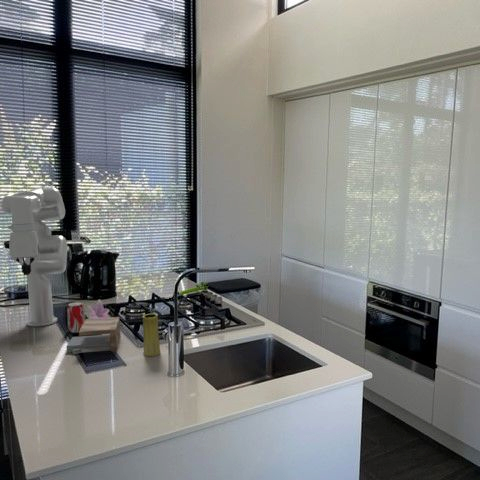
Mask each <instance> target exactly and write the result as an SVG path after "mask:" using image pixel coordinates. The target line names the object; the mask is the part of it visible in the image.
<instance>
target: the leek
mask: <svg viewBox="0 0 480 480" xmlns="http://www.w3.org/2000/svg"><path fill="white" fill-rule="evenodd" d="M207 284H208V281H204V282H203V281H200V284H198V283H197V284H196V285H195V286H194V287H190V288H187V289H184V290H181V291H178V292H179V297H181V296H184V295H187V294H189V293H193V292H198V291H204V290H206V291H207V290H208V288H209V286H208V285H207ZM173 294H174V293H171V294H169V295H165V296H163V297H162V298H164V299H165V300H166V299H169V298H172V297H173Z"/></svg>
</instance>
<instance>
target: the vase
mask: <svg viewBox="0 0 480 480" xmlns="http://www.w3.org/2000/svg"><path fill="white" fill-rule="evenodd" d="M158 319H159V318H158V314H157V313H147V314H144V315H143V316H142V325H143V326H142V329H143V331H142V333H143V353H142V354H143V355H144V356H145V357H156V356H158V355H160V354H161V347H160V334H159V320H158Z"/></svg>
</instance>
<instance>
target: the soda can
mask: <svg viewBox="0 0 480 480" xmlns="http://www.w3.org/2000/svg"><path fill="white" fill-rule="evenodd" d="M66 312H67V314H66V315H67V327H68V331H69V332H71V334H79V331H80V329H81V327H82V325H83V324H84V322H85V320H86V310H85V306H84V304H83V302H82V301H73V302H71V303H68V306H67V308H66Z"/></svg>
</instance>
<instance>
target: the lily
mask: <svg viewBox="0 0 480 480" xmlns="http://www.w3.org/2000/svg"><path fill="white" fill-rule="evenodd" d="M88 307H89V308H90V310H91V313H90V314H89V316H88V319H94V318H109V317H110V315H109V314H108V313H109V312H110V309H109V308H106V307H105V308H104V304H103V302H102V300H101V299H98V300H97V302H96V305H95V306H94V305H92V304H88Z"/></svg>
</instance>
